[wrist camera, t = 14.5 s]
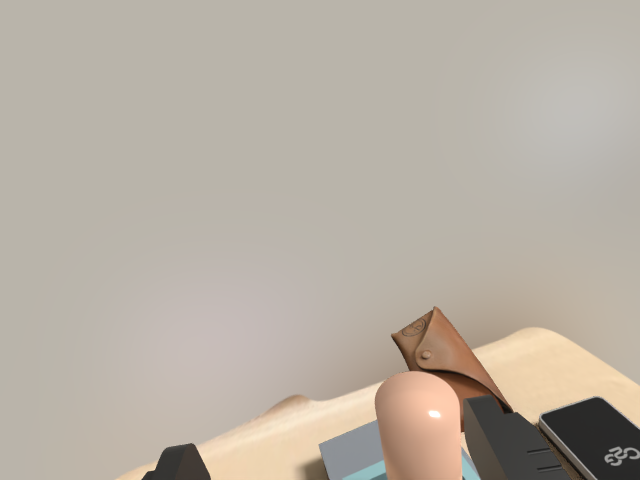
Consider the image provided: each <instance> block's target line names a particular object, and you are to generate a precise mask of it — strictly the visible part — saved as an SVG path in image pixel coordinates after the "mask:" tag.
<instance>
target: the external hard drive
mask: <svg viewBox="0 0 640 480" xmlns="http://www.w3.org/2000/svg"><path fill="white" fill-rule="evenodd" d="M539 428H540V430H541V431H542V433H543V434H544V435H545V436H546V437H547V438H548V439H549V440H550V442H551V443H552V444H553V445H554V446H555V447H556V448H557V450H558V451H559V452H560V453H561V454H562V455H563V456H564V457H565V459H566V460H567V461H568V462H569V463H570V464H571V465H572V466H573V468H574V469H575V470H576V471H577V472H578V473H579V474H580V476H581V477H582V478H583V479H584V480H640V428H639V427H638V426H637V425H635V424H634V423H633V422H632V421H631V420H629V419H628V418H627V417H626V416H625V415H623V414H622V413H621V412H620V411H619V410H617V409H616V408H615V407H614V406H613V405H611V404H610V403H609V402H608V401H607V400H605V399H604V398H602V397H599V396H593V397H590V398H587V399H584V400H581V401H578V402H575V403H572V404H569V405H565V406H562V407H559V408H556V409H553V410H550V411H547V412H544V413H541V414H540V416H539Z"/></svg>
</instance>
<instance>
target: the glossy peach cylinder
mask: <svg viewBox="0 0 640 480" xmlns="http://www.w3.org/2000/svg"><path fill="white" fill-rule="evenodd" d="M375 409H376V415H377V421H378V427H379V433H380V439H381V445H382V451H383V457H384V463H385V469H386V475H387V480H462V454H461V428H460V405H459V400H458V397H457V395H456V393H455V392H454V390H453V389H452V388H451V387H450V386H449V385H448V384H447V383H446V382H445V381H444V380H442V379H440V378H439V377H437V376H435V375H432V374H429V373H425V372H419V371H408V372H402V373H399V374H396V375H394V376H391V377H390V378H388V379H387V380H386V381H384V382H383V383H382V384H381V386H380V387H379V389H378V391H377V393H376V397H375Z"/></svg>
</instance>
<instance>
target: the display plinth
mask: <svg viewBox="0 0 640 480" xmlns="http://www.w3.org/2000/svg"><path fill="white" fill-rule="evenodd" d="M318 445H319V448H320V451H321V455H322V458H323V462H324V465H325V468H326V471H327V474H328V477H329V480H387V475H386V469H385V463H384V457H383V451H382V445H381V439H380V433H379V427H378V421H377V420H375V421H373V422H371V423H368V424H366V425H363V426H361V427H359V428H356V429H354V430H352V431H349V432H347V433H344V434H342V435H340V436H337V437H335V438H333V439H330V440H328V441H325V442H323V443H321V444H318ZM461 454H462V480H481V479H480V477H479V474H478V472H477V470H476V468H475V465H474V463H473V461H472V460H471V459H470V457H469V456H468V455H467V453H466V452H465V451H464V449H463V448H462V447H461Z"/></svg>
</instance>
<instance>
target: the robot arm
mask: <svg viewBox="0 0 640 480" xmlns="http://www.w3.org/2000/svg"><path fill="white" fill-rule="evenodd" d="M463 413H464V431H465V439H466V443H467V447H468V450H469V453H470V456H471V458H472V461H473V463H474V465H475V468H476V470H477V472H478V474H479V477H480V479H481V480H571V478H570V477H569V475H568V474H567V472H566V471H565V470H564V469H563V468H562V466H561V464H560V462H559V461H558V459H557V458H556V456H555V455H554V453H553V452H551V450H550V447H549V446H548V444H547V443H546V441H545V440H544V439H543V437H542V436H541V434H540V433H539V431H538V430H537V428H536V427H535V426H533V425H532V424H531V423H530V422H529V421H527V420H526V419H525V418H524V417H522V416H521V415H520V414H519V413H518V412H515V413H509V414H503V412H502V410H501V409H500V407H499V405H498V404H497V402H496V400H495V399H494V398H493V396H492V395H483V396H477V397H471V398H465V399H463ZM142 480H211V478H210V475H209V472H208V470H207V468H206V466H205V464H204V462H203V460H202V458H201V456H200V454H199V452H198V450H197V448H196V446H195V445H194V444H192V443H190V444H185V445H179V446H173V447H168V448H166V449H165V450H164V451H163V452H162V454H161V457H160V459H159V461H158V464H157V466H156V469H155V470H154V471H148V472H147V473H146V474H145V476H144V477H143V478H142Z"/></svg>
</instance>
